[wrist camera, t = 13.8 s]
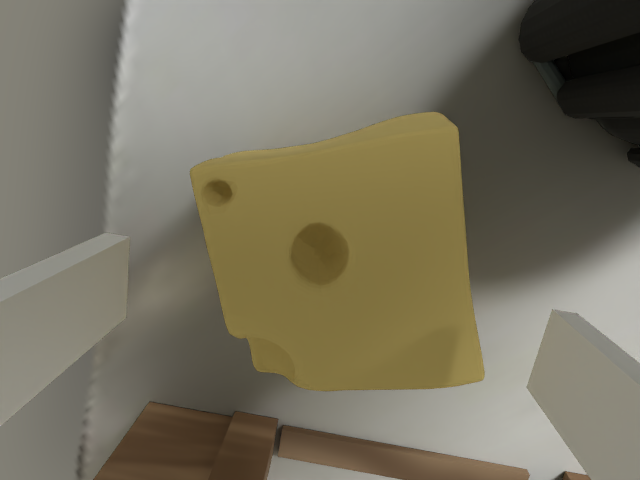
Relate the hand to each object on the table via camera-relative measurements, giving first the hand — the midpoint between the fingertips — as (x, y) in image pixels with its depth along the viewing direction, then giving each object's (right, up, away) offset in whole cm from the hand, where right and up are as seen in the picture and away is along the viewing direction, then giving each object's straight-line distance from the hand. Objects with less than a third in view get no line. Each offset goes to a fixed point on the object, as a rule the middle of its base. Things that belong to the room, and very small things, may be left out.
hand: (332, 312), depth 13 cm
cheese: (+1, +4, +12) cm, 13 cm away
